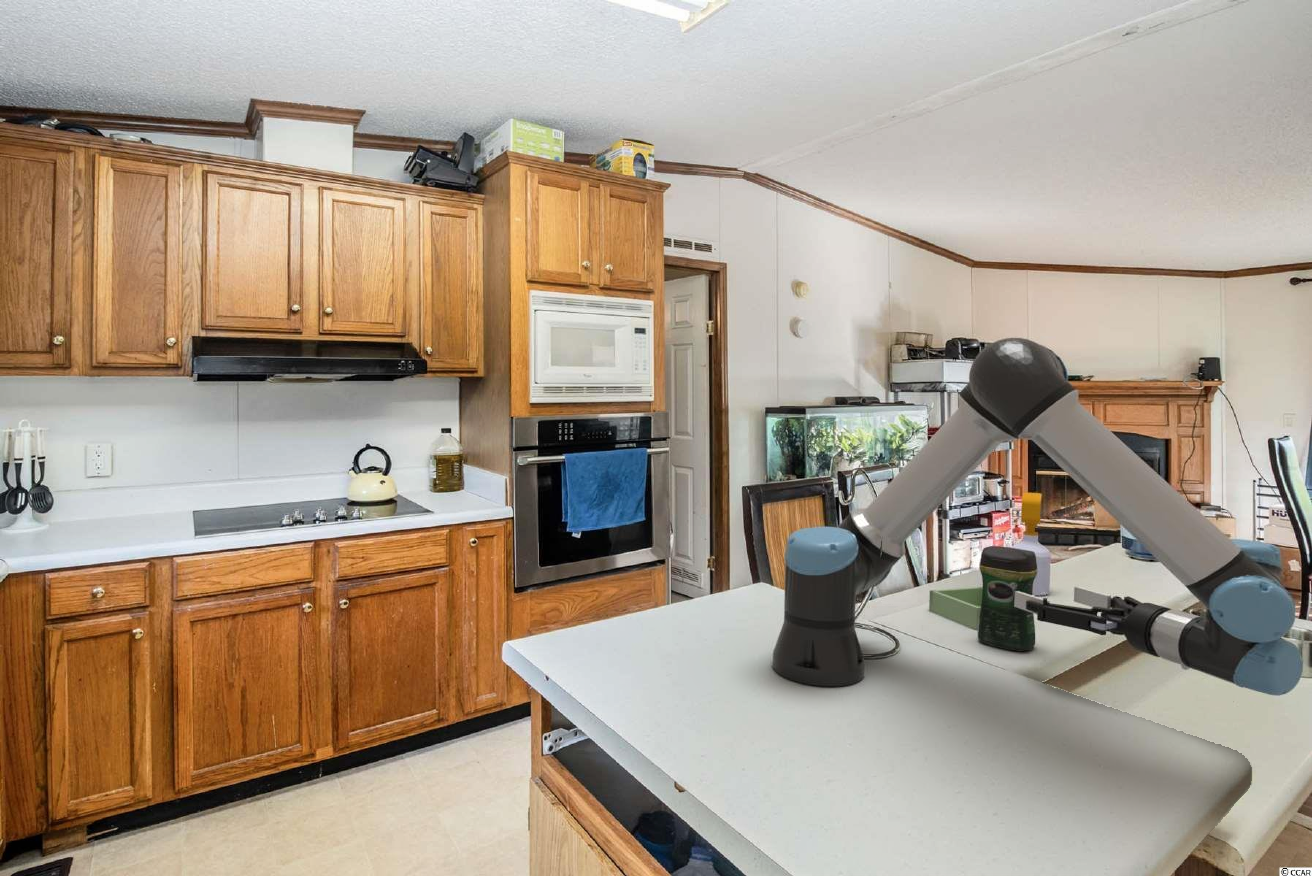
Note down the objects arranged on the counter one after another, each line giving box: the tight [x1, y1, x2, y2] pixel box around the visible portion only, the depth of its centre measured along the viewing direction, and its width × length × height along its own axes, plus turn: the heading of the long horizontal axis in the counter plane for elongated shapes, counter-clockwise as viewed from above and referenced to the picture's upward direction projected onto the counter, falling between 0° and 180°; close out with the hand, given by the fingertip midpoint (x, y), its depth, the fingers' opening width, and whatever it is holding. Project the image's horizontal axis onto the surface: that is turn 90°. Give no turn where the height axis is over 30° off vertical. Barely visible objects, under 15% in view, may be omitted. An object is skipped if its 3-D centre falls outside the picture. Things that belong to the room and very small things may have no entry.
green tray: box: [928, 586, 983, 631], centre depth 148 cm, size 14×14×4 cm
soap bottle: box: [1010, 492, 1052, 597], centre depth 171 cm, size 9×9×25 cm
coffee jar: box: [977, 545, 1038, 652], centre depth 131 cm, size 10×8×19 cm
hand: (1046, 596), depth 123 cm, fingers open, 13 cm apart
